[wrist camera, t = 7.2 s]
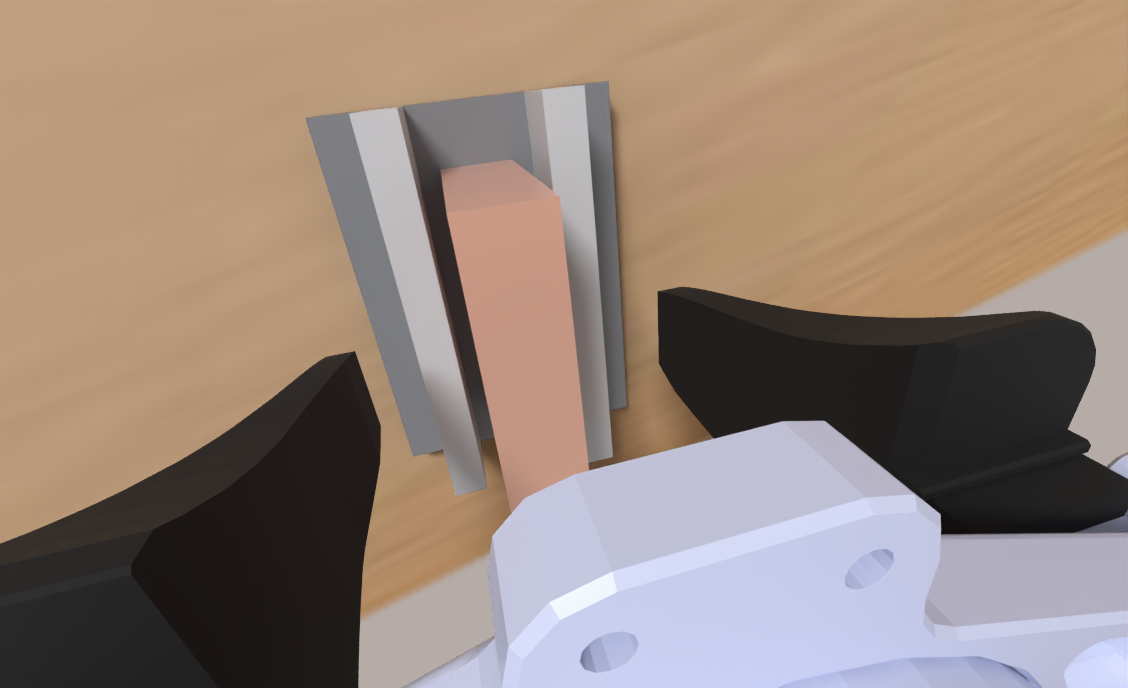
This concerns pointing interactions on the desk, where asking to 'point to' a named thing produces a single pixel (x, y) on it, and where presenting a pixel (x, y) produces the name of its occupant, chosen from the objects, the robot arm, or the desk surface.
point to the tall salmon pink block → (519, 320)
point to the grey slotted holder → (428, 262)
